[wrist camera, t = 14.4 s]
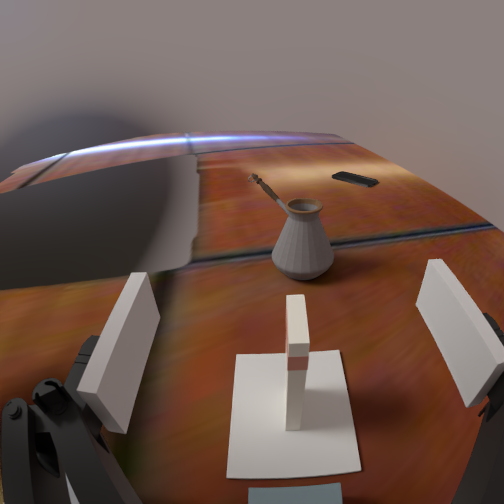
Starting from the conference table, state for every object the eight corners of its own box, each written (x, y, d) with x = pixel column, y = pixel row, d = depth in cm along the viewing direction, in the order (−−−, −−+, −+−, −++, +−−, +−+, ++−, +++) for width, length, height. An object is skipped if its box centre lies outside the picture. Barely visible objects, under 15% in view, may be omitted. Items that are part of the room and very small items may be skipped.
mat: (360, 471, 26) (361, 470, 26) (226, 478, 27) (226, 477, 26) (338, 352, 41) (338, 350, 41) (236, 356, 42) (236, 354, 42)
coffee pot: (345, 270, 58) (352, 194, 50) (299, 295, 53) (301, 212, 45) (276, 230, 74) (274, 167, 66) (233, 246, 68) (226, 179, 61)
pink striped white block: (300, 430, 31) (310, 343, 24) (284, 430, 31) (288, 343, 24) (298, 388, 36) (304, 294, 29) (284, 388, 36) (285, 294, 29)
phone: (342, 171, 109) (379, 180, 100) (341, 174, 110) (378, 183, 100) (330, 175, 105) (369, 185, 95) (330, 178, 105) (368, 189, 96)
